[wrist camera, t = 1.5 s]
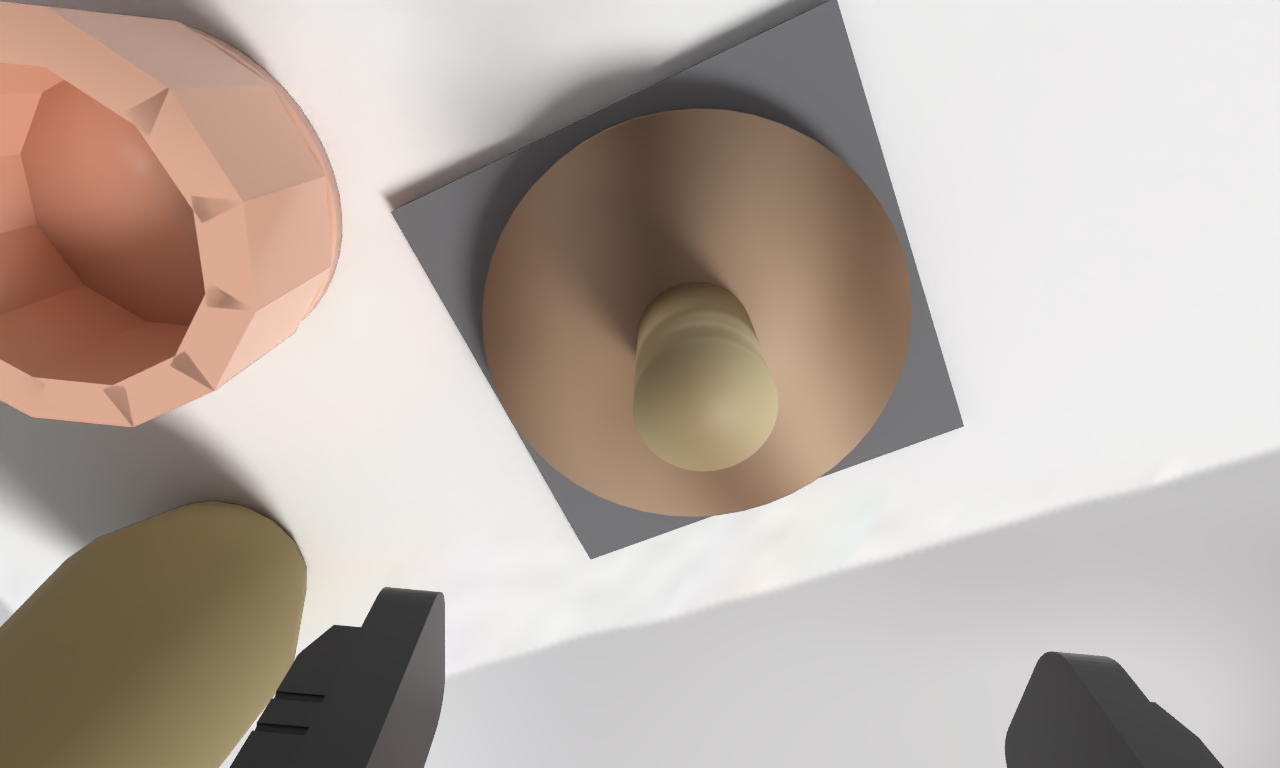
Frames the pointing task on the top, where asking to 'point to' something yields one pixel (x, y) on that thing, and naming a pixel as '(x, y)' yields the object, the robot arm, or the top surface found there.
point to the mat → (734, 79)
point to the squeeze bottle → (152, 644)
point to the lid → (696, 312)
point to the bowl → (148, 214)
